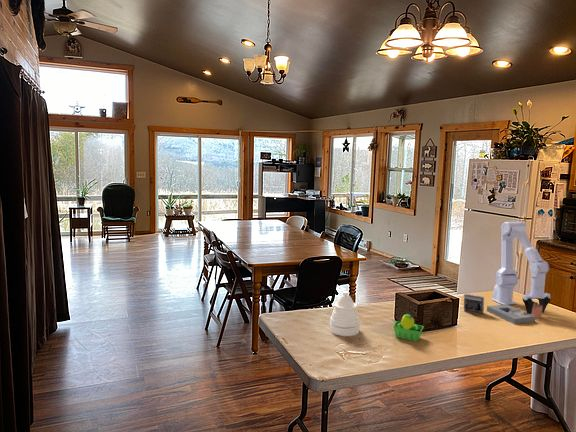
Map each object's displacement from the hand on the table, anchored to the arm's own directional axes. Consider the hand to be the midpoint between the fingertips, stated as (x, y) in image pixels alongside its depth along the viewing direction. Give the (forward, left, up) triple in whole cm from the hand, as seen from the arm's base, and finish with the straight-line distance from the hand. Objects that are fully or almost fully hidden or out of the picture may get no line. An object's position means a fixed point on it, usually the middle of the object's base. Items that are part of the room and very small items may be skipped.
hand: (535, 312), depth 214 cm
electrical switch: (-12, -26, -2) cm, 29 cm away
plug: (0, 0, -2) cm, 2 cm away
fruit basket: (+8, -75, -2) cm, 75 cm away
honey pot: (-6, -98, -2) cm, 98 cm away
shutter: (+3, -12, +1) cm, 12 cm away
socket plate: (-3, -12, -2) cm, 12 cm away
